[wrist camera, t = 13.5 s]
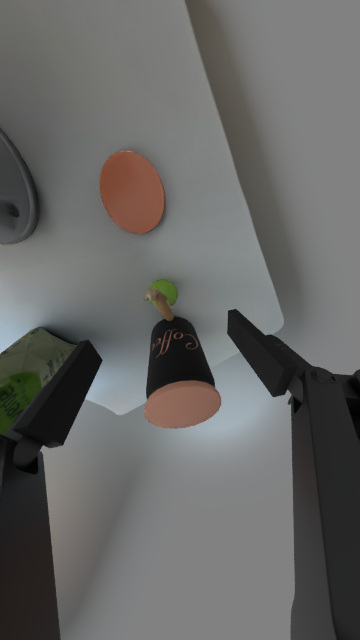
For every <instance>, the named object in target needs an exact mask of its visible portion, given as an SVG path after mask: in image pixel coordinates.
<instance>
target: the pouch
mask: <svg viewBox="0 0 360 640" xmlns="http://www.w3.org/2000/svg"><path fill="white" fill-rule="evenodd" d="M76 346H77V345H74V344H69V343H67V342H65V341H63V340H61V339H59V338H57V337H55V336H53V335H51V334H49V333H48V332H47V331H46V330H44V329H43V328H41V327H38V328H35V329H33V330H31V331H29V332H28V333H27V334H26V335H24V336H23V337H21V338H20V339H19V340H18V341H16V342H15V343H14V344H12V345H11V346H10V347H8V348H7V349H6V350H5V351H3V352H2V353H1V354H0V434H1V435H4V434H5V433H6V432H7V431H8V429H9V428H10V427H11V426H12V424H13V423H14V422H15V420H16V419H17V418H18V417H19V415H20V414H21V413H22V412H23V410H24V409H25V408H26V407H28V404H29V403H30V402H31V400H33V398H34V397H35V395H36V394H37V393H38V391H39V390H40V389H41V388H43V387H44V386H45V385H46V384H47V383H49V381H50V380H51V379H52V377H53V376H54V375H55V374H56V372H57V371H58V370H59V368H60V367H61V366H62V365H63V363H64V362H65V361H66V359H67V358H68V357H69V355H70V354H71V353H72V352H73V350H74V349H75V348H76Z"/></svg>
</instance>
